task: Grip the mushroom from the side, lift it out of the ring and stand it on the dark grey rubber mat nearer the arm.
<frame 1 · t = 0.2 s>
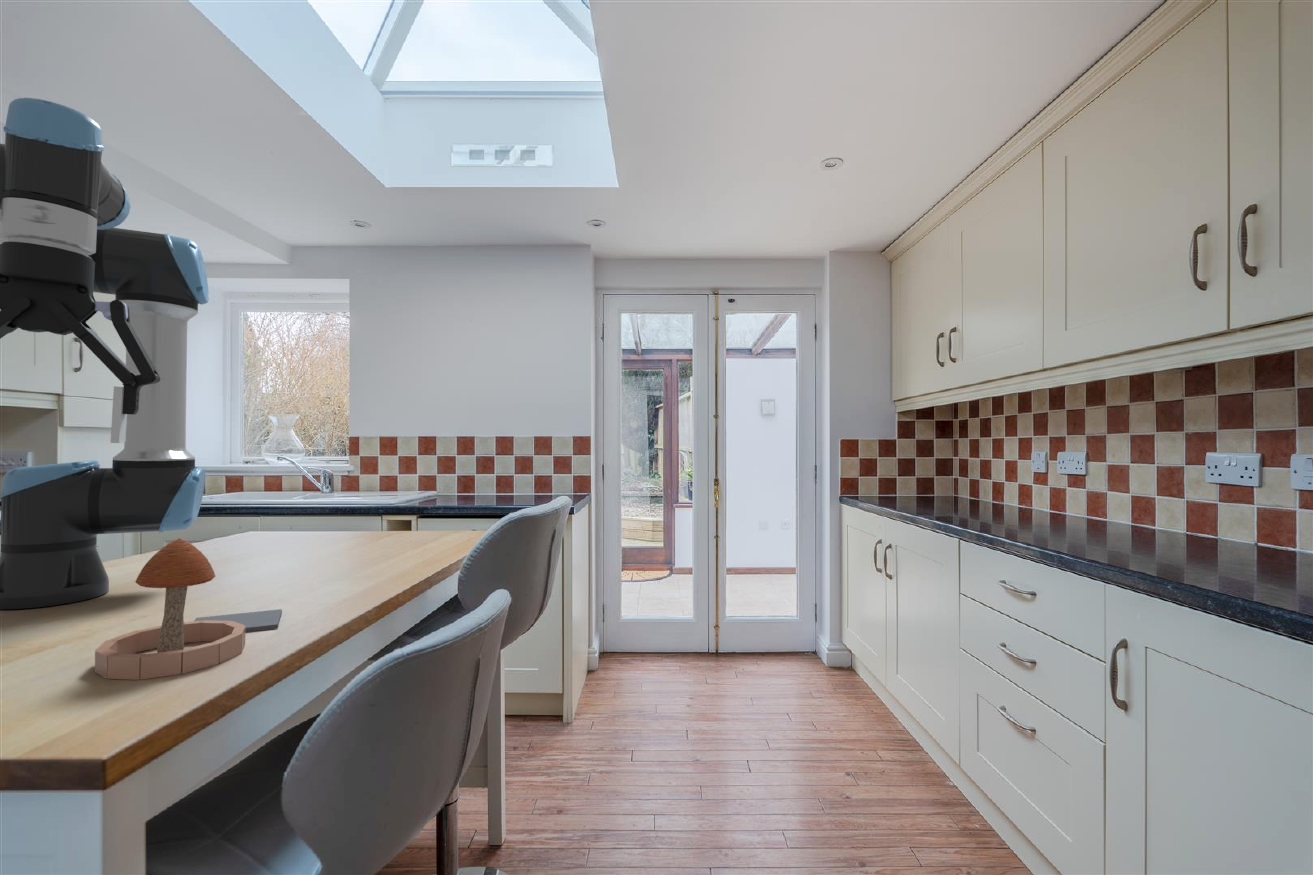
hand: (38, 439, 67), 27 cm above the kitchen island, tool pointing down, fingers open, 13 cm apart
mushroom: (174, 658, 76), resting in ring
mat: (236, 624, 90), on the kitchen island
ring: (175, 656, 76), on the kitchen island
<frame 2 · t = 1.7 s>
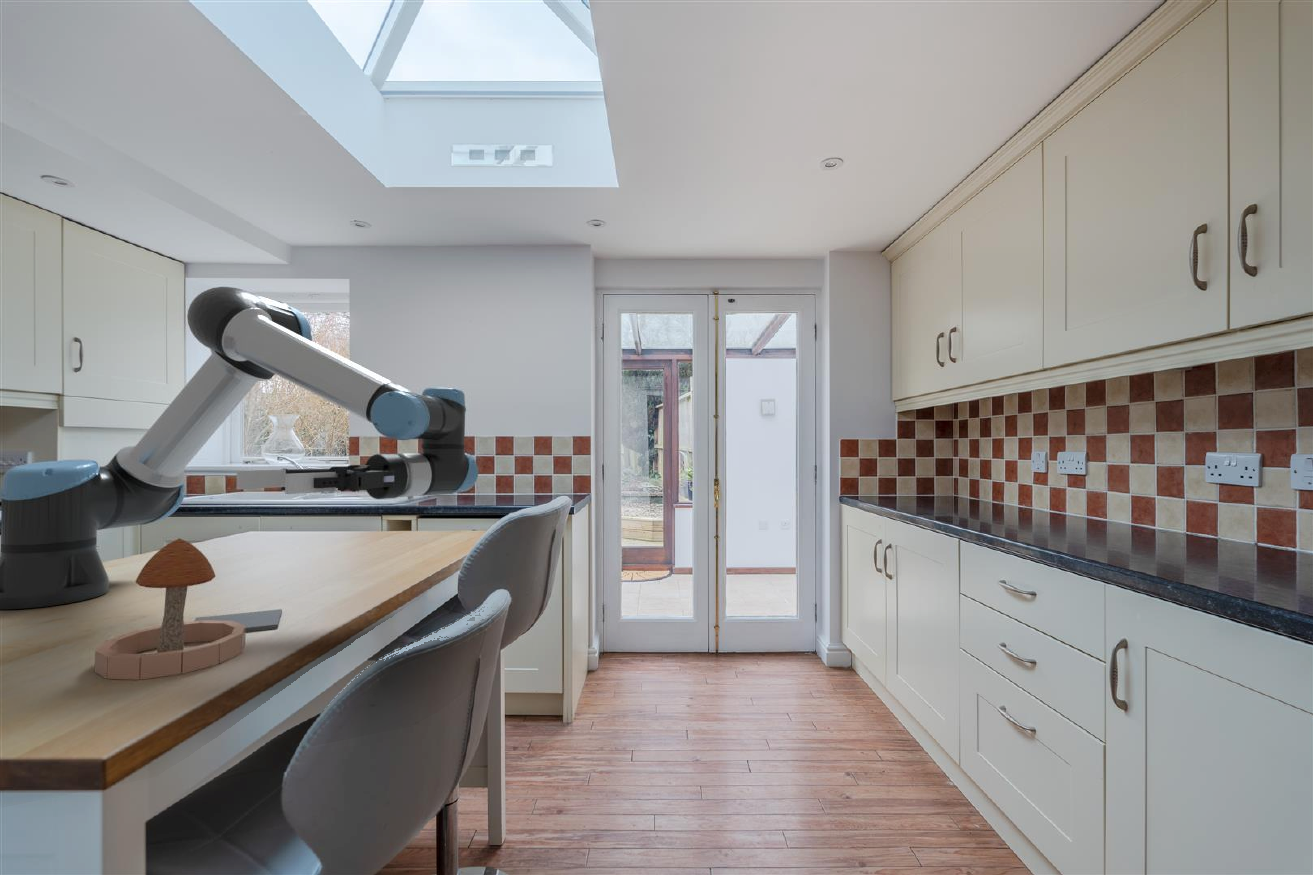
hand: (260, 481, 85), 22 cm above the kitchen island, tool horizontal, fingers open, 13 cm apart
nothing on the kitchen island moved.
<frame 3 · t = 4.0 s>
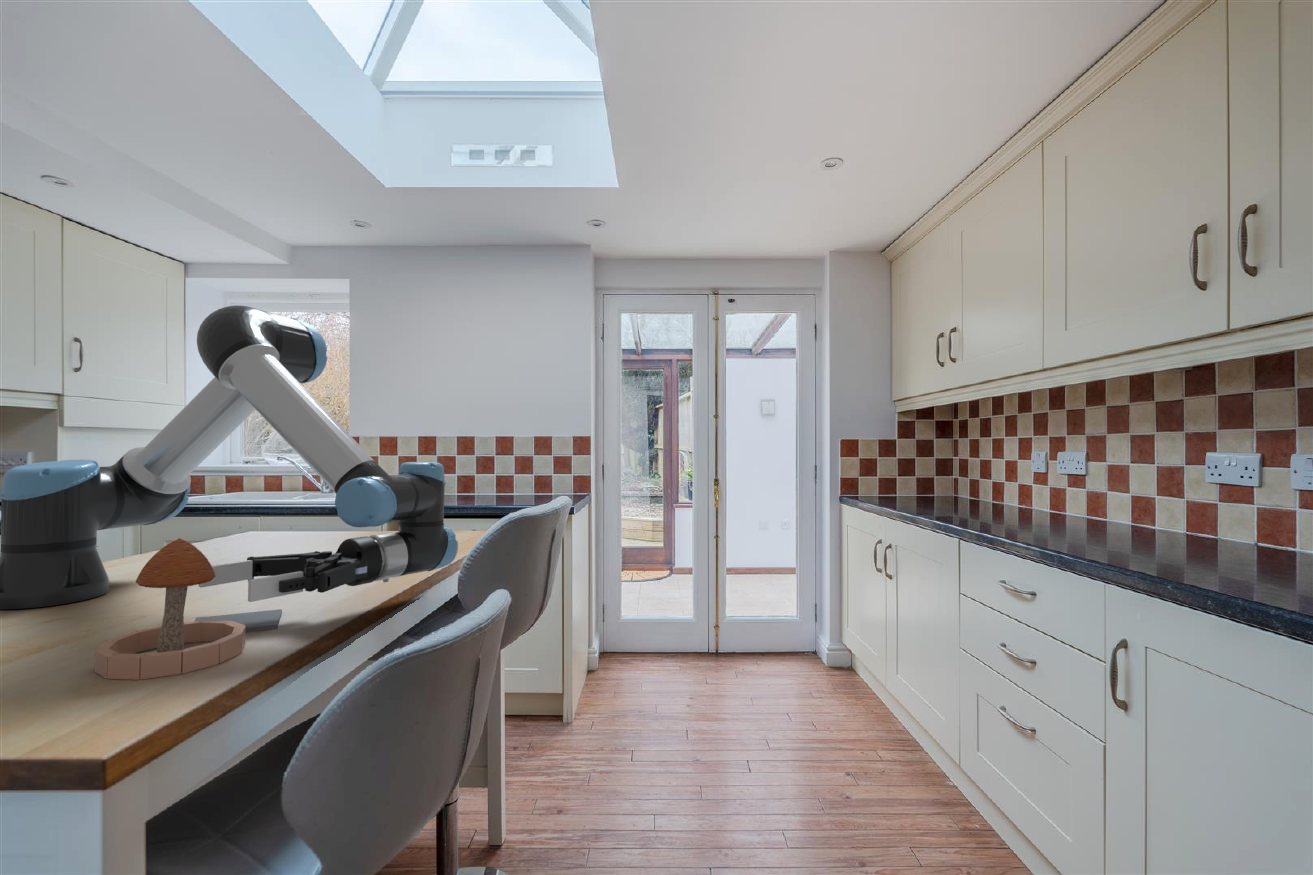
hand: (223, 583, 80), 8 cm above the kitchen island, tool horizontal, fingers open, 13 cm apart
nothing on the kitchen island moved.
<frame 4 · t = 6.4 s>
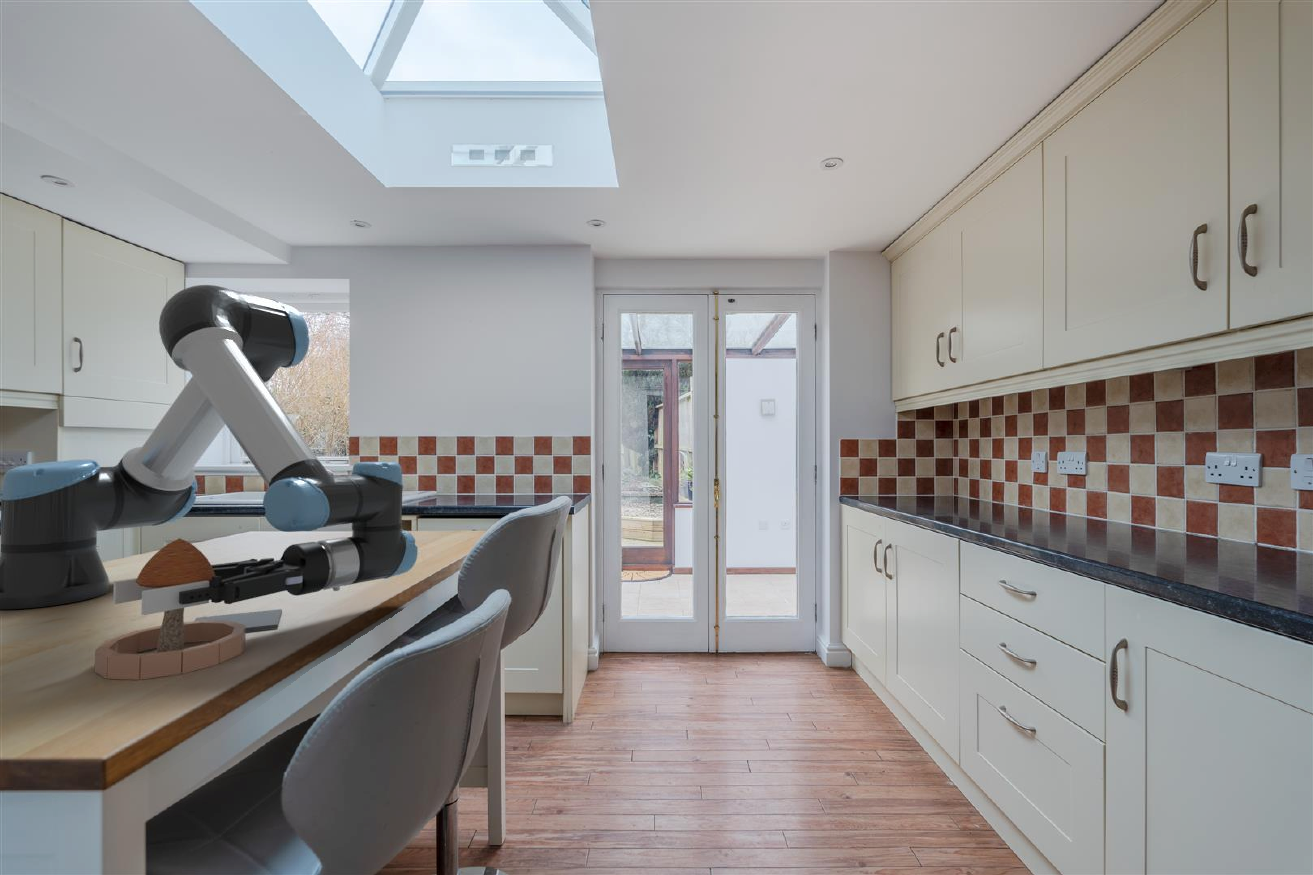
hand: (128, 597, 72), 8 cm above the kitchen island, tool horizontal, fingers closed on mushroom, 8 cm apart
mushroom: (174, 658, 76), resting in ring, touching gripper
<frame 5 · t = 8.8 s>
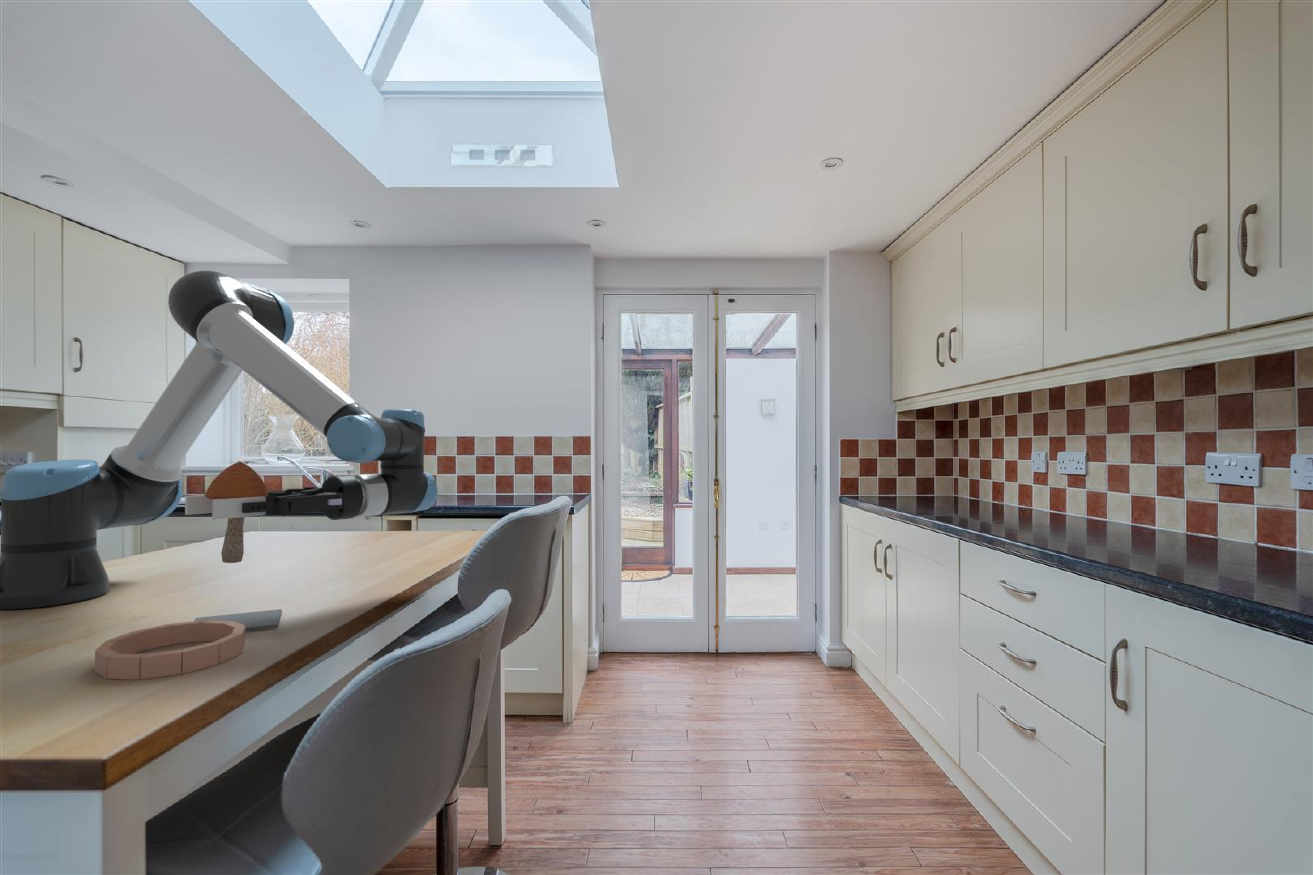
hand: (199, 507, 86), 18 cm above the kitchen island, tool horizontal, fingers closed on mushroom, 8 cm apart
mushroom: (236, 563, 90), point 9 cm above the kitchen island, touching gripper
when the fingers open (10 cm above the kitchen island, at t = 11.0 s): mushroom drops 1 cm, resting on mat.
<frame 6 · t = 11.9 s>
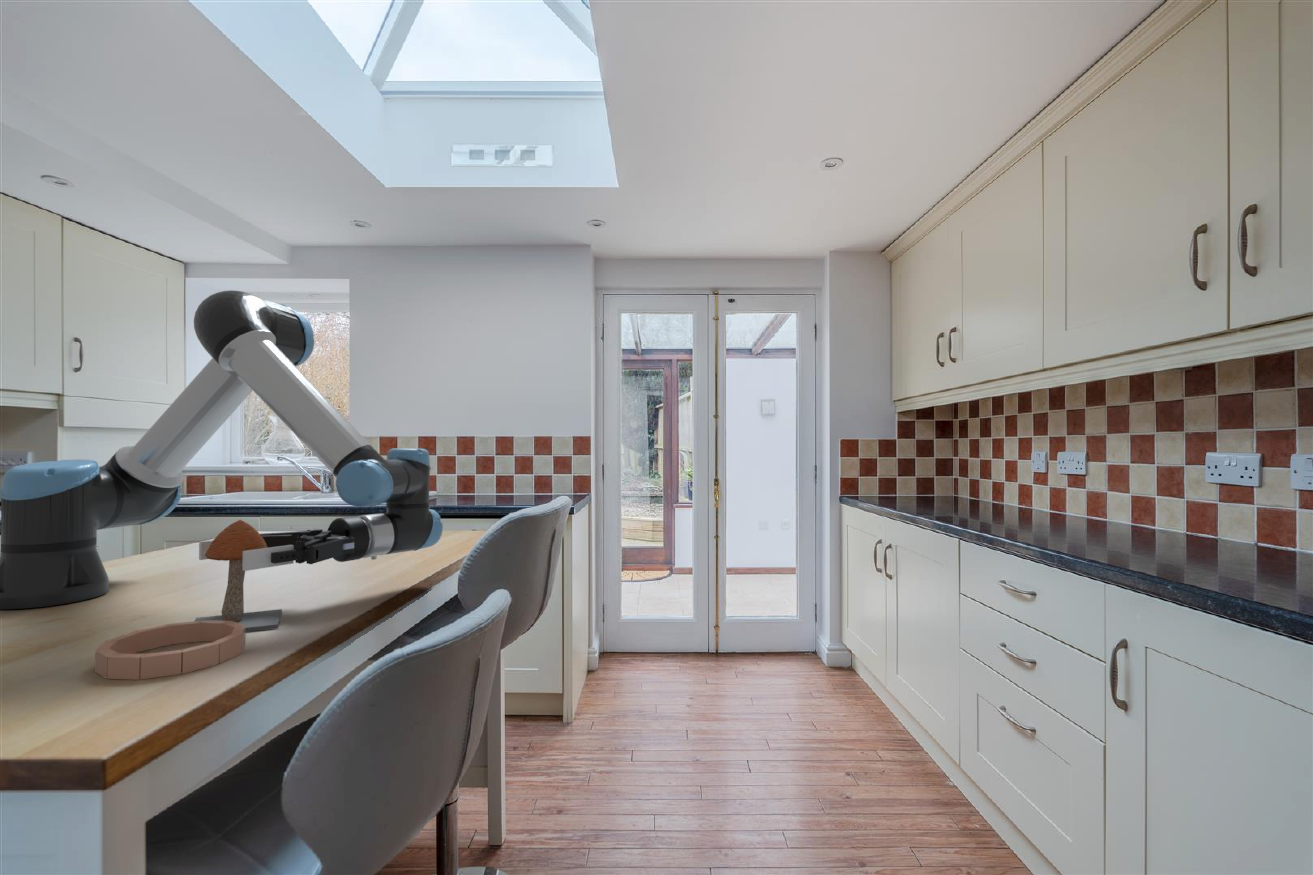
hand: (220, 555, 88), 11 cm above the kitchen island, tool horizontal, fingers open, 13 cm apart
mushroom: (236, 621, 90), resting on mat
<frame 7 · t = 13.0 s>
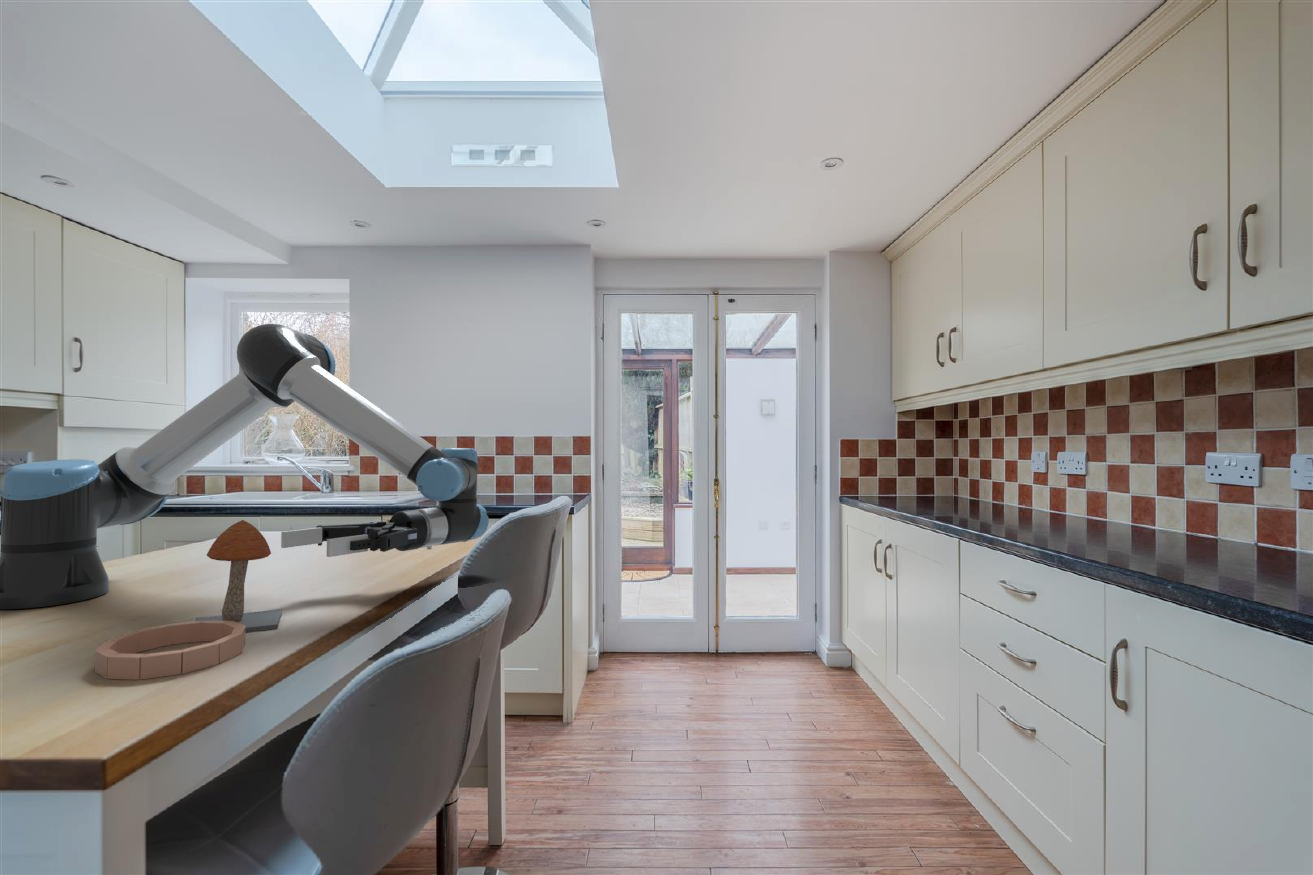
hand: (304, 543, 98), 11 cm above the kitchen island, tool horizontal, fingers open, 13 cm apart
nothing on the kitchen island moved.
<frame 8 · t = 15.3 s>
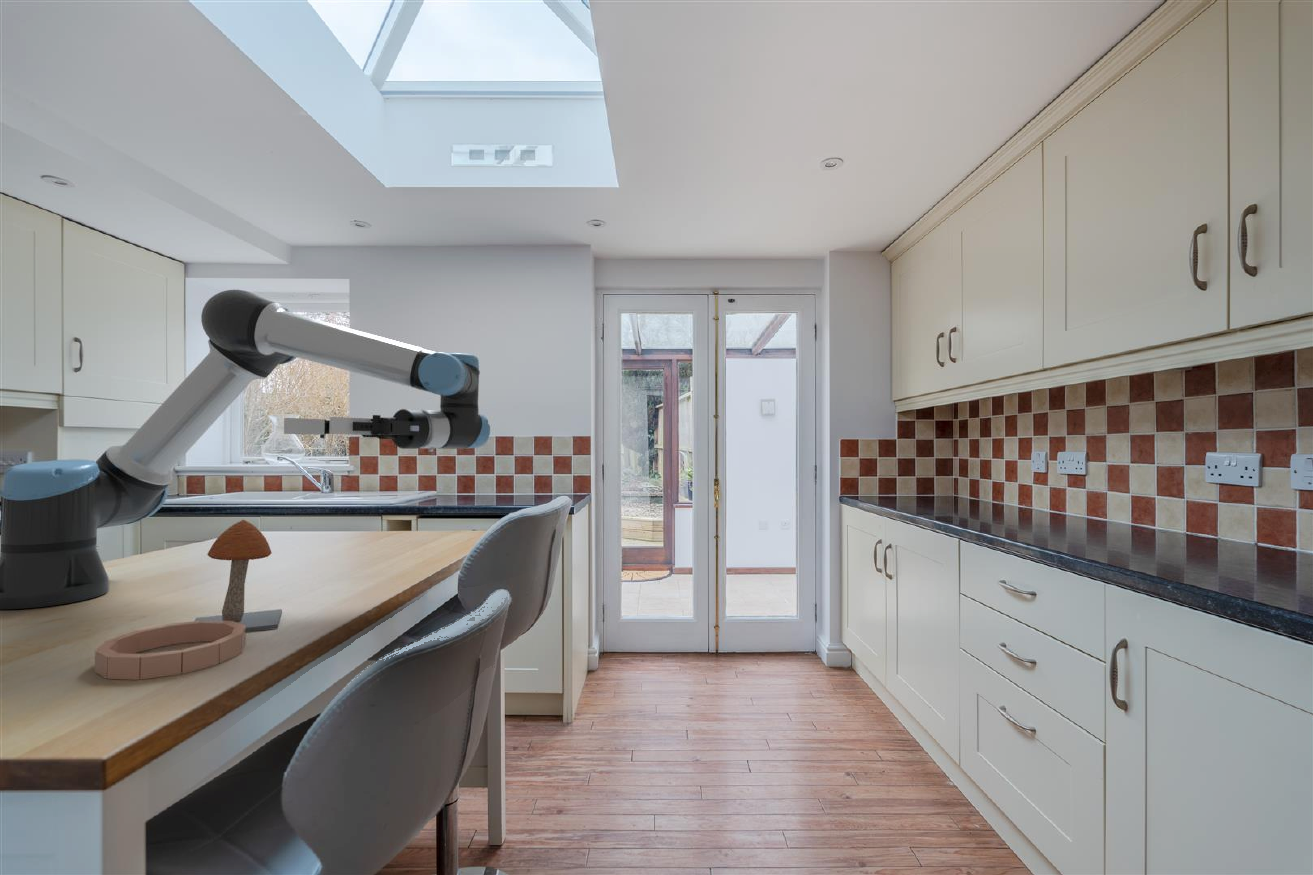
hand: (306, 425, 98), 30 cm above the kitchen island, tool horizontal, fingers open, 13 cm apart
nothing on the kitchen island moved.
at the end: mushroom inside the target area on the mat (0.1 cm from its centre), point 0.4 cm above the mat's base; mushroom tilted 2°; the gripper is holding nothing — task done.
